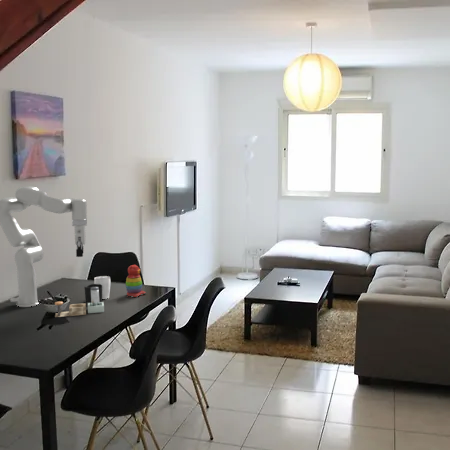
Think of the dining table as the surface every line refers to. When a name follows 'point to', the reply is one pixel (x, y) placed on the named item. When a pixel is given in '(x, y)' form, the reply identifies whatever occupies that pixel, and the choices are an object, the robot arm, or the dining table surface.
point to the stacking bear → (134, 281)
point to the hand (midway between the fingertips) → (79, 255)
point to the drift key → (58, 304)
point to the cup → (103, 285)
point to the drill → (95, 296)
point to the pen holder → (88, 292)
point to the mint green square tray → (95, 308)
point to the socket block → (73, 310)
